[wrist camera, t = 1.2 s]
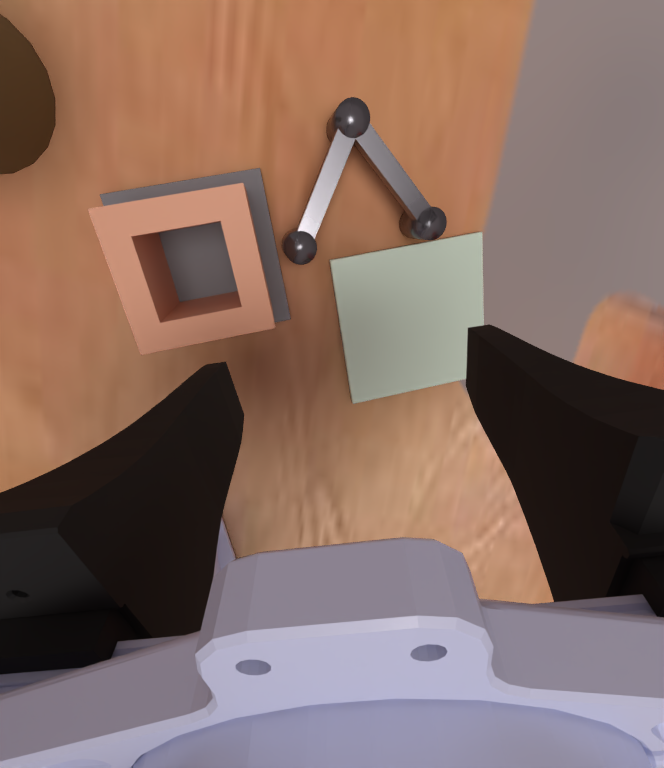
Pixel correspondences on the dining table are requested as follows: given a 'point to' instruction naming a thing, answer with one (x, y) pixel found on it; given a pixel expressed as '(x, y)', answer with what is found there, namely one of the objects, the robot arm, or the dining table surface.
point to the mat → (214, 241)
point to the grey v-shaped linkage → (356, 129)
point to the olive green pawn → (22, 101)
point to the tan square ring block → (153, 277)
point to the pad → (408, 314)
